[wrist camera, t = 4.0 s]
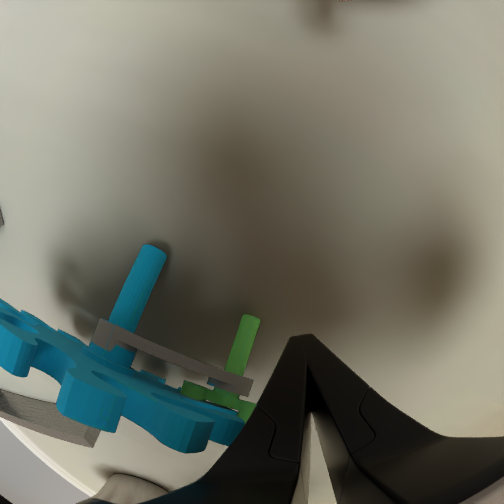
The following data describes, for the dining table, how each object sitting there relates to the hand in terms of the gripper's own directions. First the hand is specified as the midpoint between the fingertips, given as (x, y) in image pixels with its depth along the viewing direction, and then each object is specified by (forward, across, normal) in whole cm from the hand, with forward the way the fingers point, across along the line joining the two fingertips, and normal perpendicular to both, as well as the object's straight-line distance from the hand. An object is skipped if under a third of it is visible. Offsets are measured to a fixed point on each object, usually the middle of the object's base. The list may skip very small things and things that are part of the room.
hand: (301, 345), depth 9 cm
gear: (+3, +6, 0) cm, 7 cm away
